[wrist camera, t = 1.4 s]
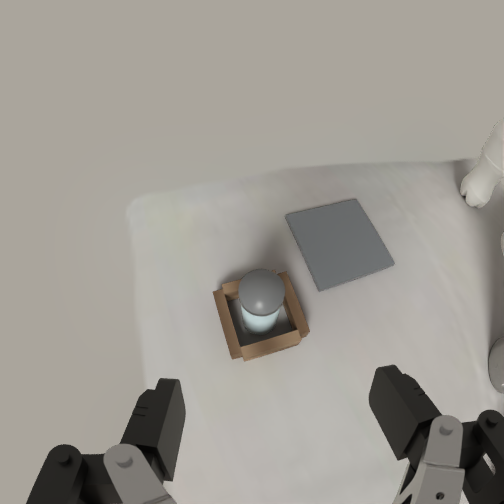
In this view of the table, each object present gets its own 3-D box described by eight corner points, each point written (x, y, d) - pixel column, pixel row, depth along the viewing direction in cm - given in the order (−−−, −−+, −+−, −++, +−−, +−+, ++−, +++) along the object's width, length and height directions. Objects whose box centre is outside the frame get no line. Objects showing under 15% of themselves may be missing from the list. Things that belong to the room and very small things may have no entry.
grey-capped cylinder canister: (271, 297, 34) (276, 264, 27) (282, 329, 32) (291, 303, 25) (237, 307, 33) (232, 275, 26) (247, 340, 31) (246, 317, 24)
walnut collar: (282, 276, 35) (284, 267, 33) (307, 341, 31) (311, 336, 29) (214, 295, 34) (211, 287, 32) (233, 364, 30) (232, 360, 28)
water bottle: (451, 186, 45) (504, 87, 24) (470, 185, 46) (520, 96, 25) (469, 213, 42) (533, 115, 20) (487, 211, 42) (546, 122, 21)
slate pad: (355, 201, 42) (356, 199, 42) (393, 265, 36) (394, 263, 36) (285, 217, 40) (285, 215, 40) (318, 291, 34) (319, 289, 34)
